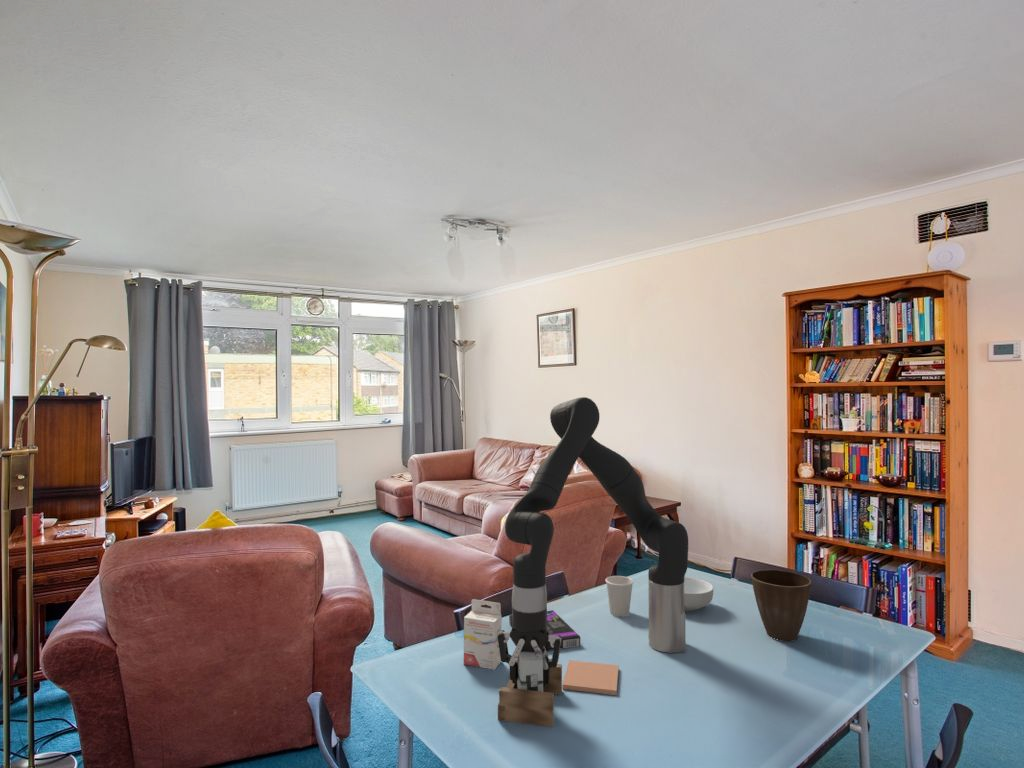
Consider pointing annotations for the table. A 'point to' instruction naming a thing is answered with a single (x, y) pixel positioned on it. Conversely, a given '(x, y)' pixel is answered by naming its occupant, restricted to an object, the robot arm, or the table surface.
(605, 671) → the terracotta tile
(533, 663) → the ink box
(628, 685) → the table surface
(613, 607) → the dixie cup
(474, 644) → the ink cartridge box
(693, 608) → the cereal bowl
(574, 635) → the box
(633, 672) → the table surface
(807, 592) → the plant pot
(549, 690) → the walnut slot rack
